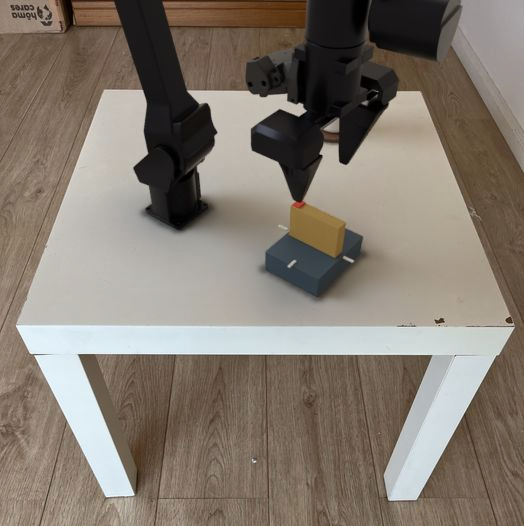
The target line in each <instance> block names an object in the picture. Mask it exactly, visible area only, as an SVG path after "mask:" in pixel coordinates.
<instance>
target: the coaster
mask: <svg viewBox="0 0 524 526" xmlns="http://www.w3.org/2000/svg"><path fill="white" fill-rule="evenodd" d="M322 133H323V135H324V142H326V143H331V144H333V143H334V144H336V143H338V144H339V133H331V132H327V131H324V130H322Z"/></svg>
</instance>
